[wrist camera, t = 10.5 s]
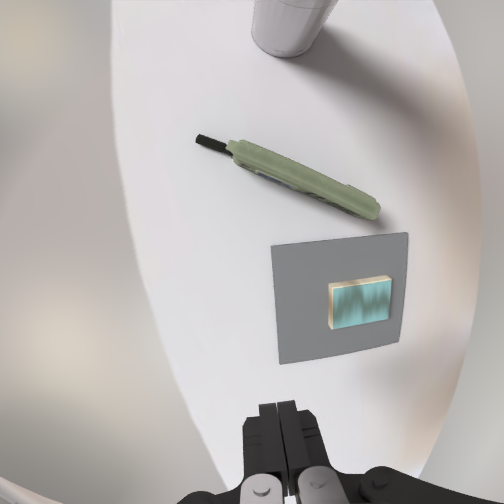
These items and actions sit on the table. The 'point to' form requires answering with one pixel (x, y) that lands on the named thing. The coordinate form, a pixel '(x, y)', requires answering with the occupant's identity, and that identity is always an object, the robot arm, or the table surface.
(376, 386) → the table surface
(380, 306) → the tile
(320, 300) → the mat
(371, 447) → the table surface
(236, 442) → the table surface
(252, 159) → the brick cell phone
